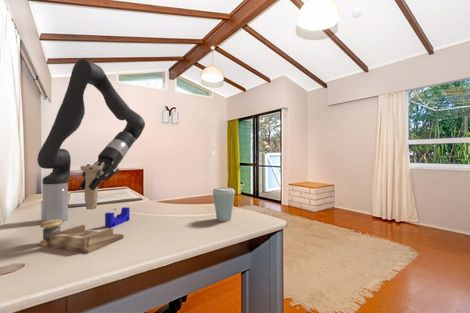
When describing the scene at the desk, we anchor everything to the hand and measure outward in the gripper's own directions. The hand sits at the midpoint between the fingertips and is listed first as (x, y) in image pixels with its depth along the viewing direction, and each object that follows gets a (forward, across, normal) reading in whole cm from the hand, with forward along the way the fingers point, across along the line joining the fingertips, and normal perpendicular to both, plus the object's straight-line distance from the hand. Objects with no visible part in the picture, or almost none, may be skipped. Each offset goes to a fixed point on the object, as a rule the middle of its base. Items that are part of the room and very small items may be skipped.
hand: (86, 188), depth 80 cm
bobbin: (+16, -11, +11) cm, 22 cm away
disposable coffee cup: (-16, +36, +42) cm, 57 cm away
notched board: (+13, 0, +13) cm, 19 cm away
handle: (+4, 0, +7) cm, 8 cm away
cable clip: (-2, -8, +29) cm, 30 cm away
